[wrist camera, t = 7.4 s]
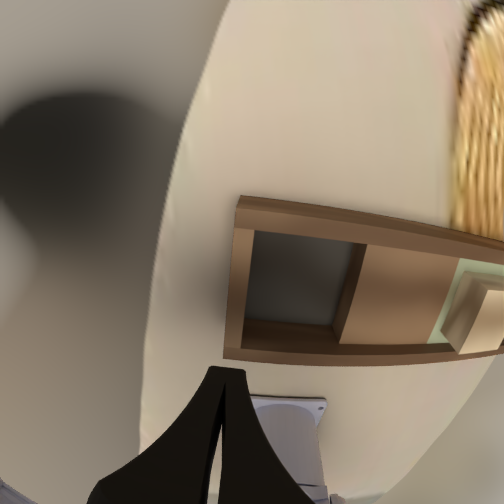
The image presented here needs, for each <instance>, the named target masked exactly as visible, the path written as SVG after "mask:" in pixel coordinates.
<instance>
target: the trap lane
mask: <svg viewBox="0 0 504 504" xmlns="http://www.w3.org/2000/svg"><path fill="white" fill-rule="evenodd" d="M464 271H469V272H477V273H485V274H493V275H500V276H503V277H504V242H502V241H498V240H494V239H490V238H486V237H482V236H478V235H473V234H469V233H465V232H460V231H456V230H452V229H447V228H442V227H438V226H433V225H428V224H423V223H418V222H413V221H408V220H403V219H398V218H393V217H387V216H382V215H376V214H370V213H364V212H359V211H352V210H346V209H340V208H334V207H327V206H320V205H313V204H306V203H299V202H292V201H284V200H276V199H268V198H260V197H251V196H242V195H241V196H240V199H239V202H238V204H237V207H236V215H235V225H234V235H233V245H232V256H231V267H230V278H229V289H228V301H227V313H226V325H225V338H224V351H223V359H231V360H240V361H250V362H261V363H273V364H288V365H307V366H394V365H412V364H426V363H438V362H448V361H457V360H465V359H472V358H479V357H486V356H492V355H498V354H503V353H504V338H503V340H502V342H501V344H500V346H499V348H498V349H497V350H490V351H483V352H476V353H467V354H458V353H457V352H456V351H455V349H454V348H453V347H452V346H451V344H450V343H449V342H448V340H447V339H446V338H445V337H444V335H443V334H442V333H441V332H440V330H441V328H442V325H443V323H444V321H445V319H446V316H447V314H448V312H449V309H450V307H451V304H452V302H453V299H454V297H455V294H456V291H457V289H458V286H459V283H460V280H461V278H462V275H463V272H464Z"/></svg>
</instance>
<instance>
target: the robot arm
mask: <svg viewBox="0 0 504 504" xmlns="http://www.w3.org/2000/svg"><path fill="white" fill-rule="evenodd" d="M327 404H328V403H327V400H325V399H295V398H273V397H259V396H250V393H249V390H248V385H247V380H246V371H244V370H243V369H236V368H227V367H219V366H210V367H209V368H208V371H207V373H206V375H205V377H204V379H203V381H202V383H201V385H200V386H199V388H198V390H197V391H196V393H195V394H194V396H193V397H192V399H191V400H190V402H189V403H188V405H187V406H186V407H185V409H184V410H183V411H182V413H181V414H180V415H179V416H178V418H177V419H176V420H175V421H174V422H173V424H172V425H171V426H170V427H169V428H168V429H167V430H166V431H165V432H164V433H163V434H162V435H161V436H160V437H159V438H158V439H157V440H156V441H155V442H154V443H153V444H152V445H151V446H149V447H148V448H147V449H146V450H145V451H143V452H142V453H141V454H140V455H138V456H137V457H136V458H135V459H133V460H132V461H130V462H129V463H127V464H126V465H125V466H123V467H122V468H120V469H118V470H117V471H115V472H113V473H112V474H110V475H108V476H106V477H105V478H103V479H101V480H99V481H98V483H97V484H96V486H95V487H94V489H93V491H92V492H91V494H90V496H89V498H88V501H87V504H207V499H208V490H209V482H210V474H211V468H212V463H213V459H214V455H215V451H216V446H217V442H218V438H219V433H220V429H221V425H222V470H221V479H220V488H219V498H218V504H329V499H328V491H327V486H325V483H324V476H323V469H322V463H321V456H320V450H319V443H318V437H317V430H316V428H317V426H318V424H319V422H320V419H321V417H322V415H323V413H324V411H325V409H326V407H327ZM0 504H37V503H35V502H34V501H32V500H30V499H29V498H27V497H26V496H24V495H22V494H21V493H19V492H18V491H16V490H15V489H13V488H12V487H10V486H9V485H7V484H6V483H5V482H3V480H2V479H1V478H0ZM330 504H346V502H345V499H344V498H342V497H340V496H338V494H331V495H330Z"/></svg>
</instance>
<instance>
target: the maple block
mask: <svg viewBox="0 0 504 504" xmlns="http://www.w3.org/2000/svg"><path fill="white" fill-rule="evenodd" d="M440 332H441V333H442V334H443V335H444V337H445V338H446V339H447V340H448V342H449V343H450V344H451V346H452V347H453V348H454V349H455V351H456V352H457V353H458V354H467V353H476V352H483V351H490V350H497V349H498V348H499V346H500V344H501V342H502V340H503V338H504V277H503V276H500V275H493V274H485V273H477V272H469V271H464V272H463V275H462V278H461V280H460V283H459V286H458V289H457V291H456V294H455V297H454V299H453V302H452V304H451V307H450V309H449V312H448V314H447V316H446V319H445V321H444V323H443V325H442V328H441V330H440Z"/></svg>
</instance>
